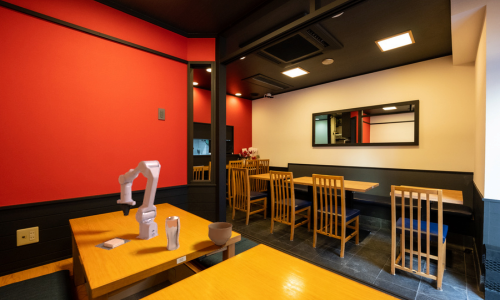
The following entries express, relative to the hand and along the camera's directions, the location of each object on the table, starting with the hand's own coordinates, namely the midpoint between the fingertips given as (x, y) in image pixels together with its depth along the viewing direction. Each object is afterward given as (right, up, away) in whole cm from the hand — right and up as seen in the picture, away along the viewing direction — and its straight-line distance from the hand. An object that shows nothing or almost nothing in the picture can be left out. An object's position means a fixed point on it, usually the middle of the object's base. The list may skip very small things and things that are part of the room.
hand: (126, 215), depth 131 cm
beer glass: (+38, -9, -25) cm, 47 cm away
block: (+3, -8, -20) cm, 22 cm away
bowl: (+62, -8, -21) cm, 66 cm away
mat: (+5, -9, -20) cm, 22 cm away
